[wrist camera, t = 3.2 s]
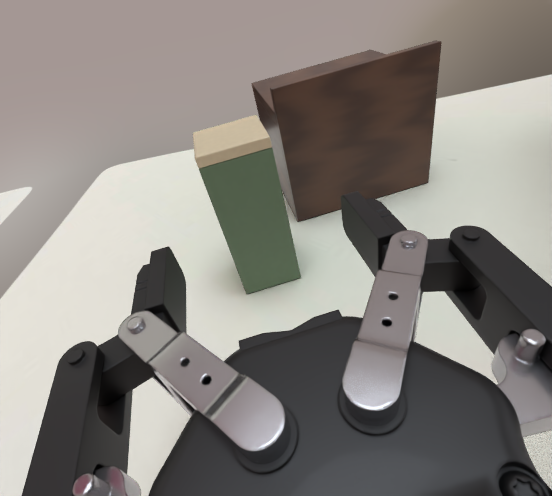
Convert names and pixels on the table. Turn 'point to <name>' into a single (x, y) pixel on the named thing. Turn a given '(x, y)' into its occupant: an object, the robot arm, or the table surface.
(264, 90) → the shelf
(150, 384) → the table surface
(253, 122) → the carton
